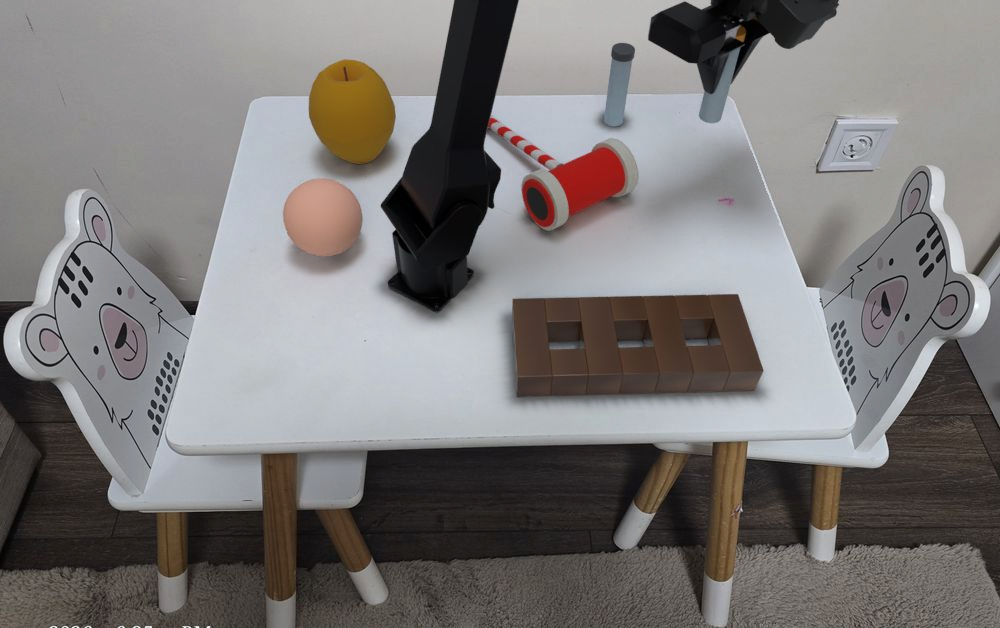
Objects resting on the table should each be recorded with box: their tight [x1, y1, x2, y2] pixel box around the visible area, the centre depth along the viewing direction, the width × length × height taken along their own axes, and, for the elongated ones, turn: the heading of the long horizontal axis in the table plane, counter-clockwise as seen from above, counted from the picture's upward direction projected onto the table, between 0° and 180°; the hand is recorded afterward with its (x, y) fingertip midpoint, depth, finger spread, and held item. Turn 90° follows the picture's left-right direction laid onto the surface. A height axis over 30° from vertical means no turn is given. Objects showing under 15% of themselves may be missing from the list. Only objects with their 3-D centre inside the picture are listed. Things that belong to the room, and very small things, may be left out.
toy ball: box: [282, 177, 364, 257], centre depth 77 cm, size 8×8×8 cm
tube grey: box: [603, 42, 636, 128], centre depth 92 cm, size 3×3×10 cm
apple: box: [308, 58, 397, 165], centre depth 86 cm, size 10×10×12 cm
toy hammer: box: [488, 115, 639, 232], centre depth 87 cm, size 23×12×6 cm, turn 35°
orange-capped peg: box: [698, 25, 746, 124], centre depth 77 cm, size 3×3×10 cm
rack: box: [511, 293, 764, 397], centre depth 70 cm, size 22×9×3 cm, turn 92°
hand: (717, 88), depth 79 cm, fingers closed on orange-capped peg, 2 cm apart
